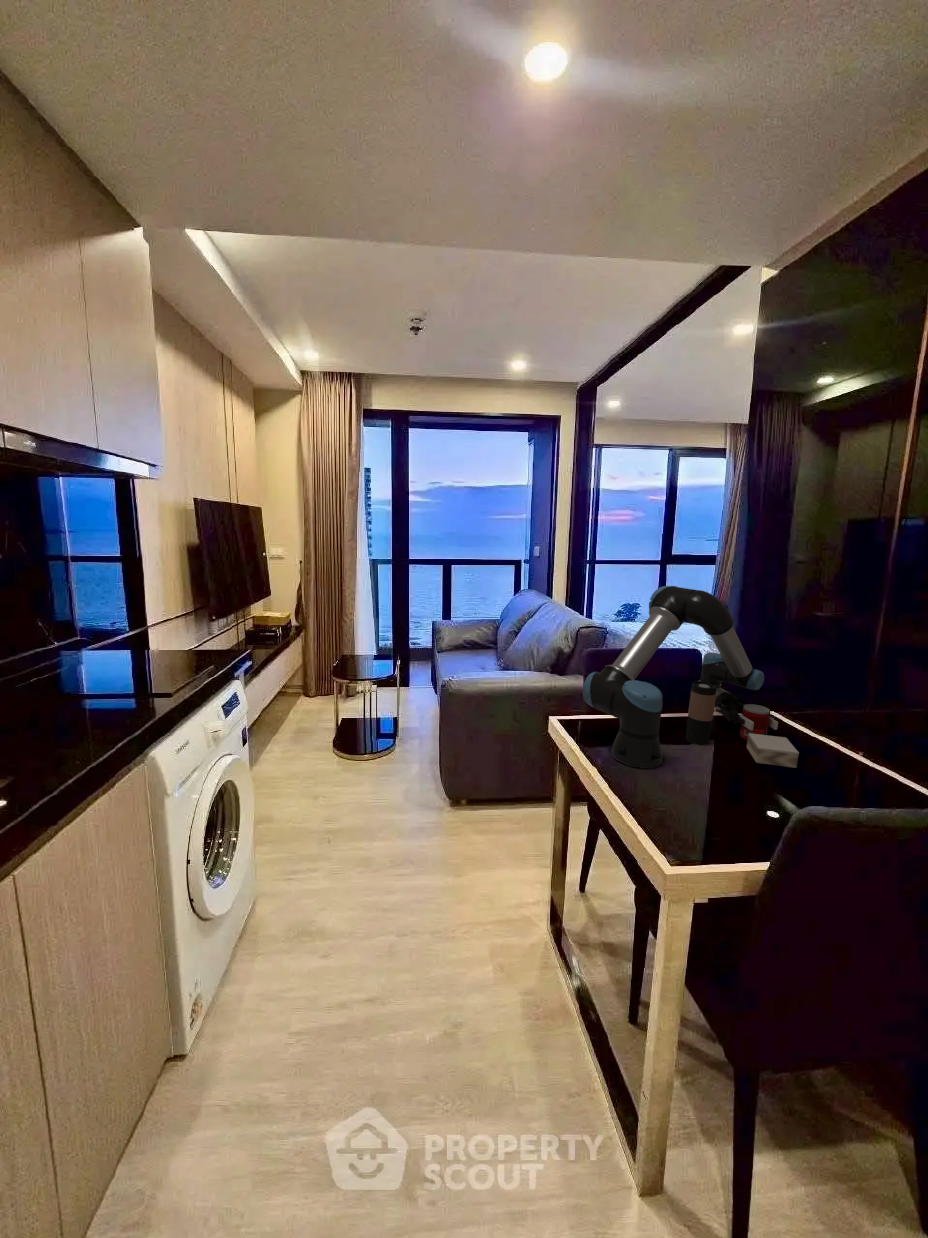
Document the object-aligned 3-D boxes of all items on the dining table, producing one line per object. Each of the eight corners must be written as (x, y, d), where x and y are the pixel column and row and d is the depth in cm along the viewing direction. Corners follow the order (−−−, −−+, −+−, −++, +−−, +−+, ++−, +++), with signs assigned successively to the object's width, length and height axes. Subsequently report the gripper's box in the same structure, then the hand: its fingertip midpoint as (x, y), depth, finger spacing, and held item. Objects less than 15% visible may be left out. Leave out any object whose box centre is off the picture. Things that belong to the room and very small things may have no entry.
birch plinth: (756, 762, 155) (758, 747, 154) (746, 747, 166) (748, 733, 165) (796, 767, 152) (799, 752, 151) (783, 751, 163) (786, 737, 162)
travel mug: (685, 743, 168) (692, 686, 164) (684, 734, 175) (691, 679, 171) (710, 747, 165) (718, 689, 161) (708, 738, 172) (716, 682, 168)
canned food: (769, 744, 168) (774, 713, 166) (743, 741, 170) (748, 711, 168) (760, 734, 176) (765, 705, 173) (736, 732, 177) (740, 703, 175)
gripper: (748, 710, 191) (791, 736, 168) (696, 710, 189) (733, 737, 166) (751, 691, 189) (795, 715, 167) (698, 692, 187) (736, 716, 165)
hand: (764, 726), depth 167 cm, fingers closed on canned food, 8 cm apart
